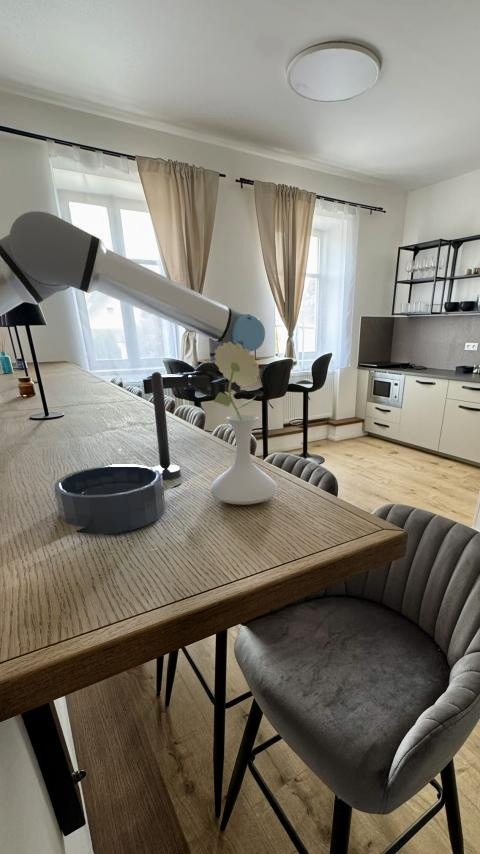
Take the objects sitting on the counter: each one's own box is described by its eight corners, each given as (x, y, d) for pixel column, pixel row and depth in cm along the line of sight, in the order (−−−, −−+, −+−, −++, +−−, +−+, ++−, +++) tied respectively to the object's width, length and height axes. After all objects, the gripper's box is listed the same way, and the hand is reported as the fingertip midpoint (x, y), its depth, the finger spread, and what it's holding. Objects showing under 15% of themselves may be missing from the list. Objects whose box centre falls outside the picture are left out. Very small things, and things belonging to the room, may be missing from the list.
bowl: (39, 524, 59) (30, 485, 57) (117, 493, 72) (112, 460, 69) (113, 547, 54) (106, 504, 51) (184, 508, 66) (181, 472, 63)
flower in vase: (291, 500, 70) (294, 342, 60) (234, 517, 63) (229, 342, 54) (246, 480, 79) (244, 341, 70) (193, 493, 72) (182, 340, 63)
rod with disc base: (146, 486, 75) (133, 372, 68) (165, 478, 80) (155, 370, 72) (168, 490, 73) (157, 373, 66) (187, 482, 77) (178, 371, 70)
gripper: (264, 396, 98) (242, 410, 78) (165, 392, 101) (120, 405, 82) (264, 363, 95) (241, 369, 75) (162, 360, 99) (115, 365, 79)
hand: (178, 388), depth 79 cm, fingers open, 13 cm apart
